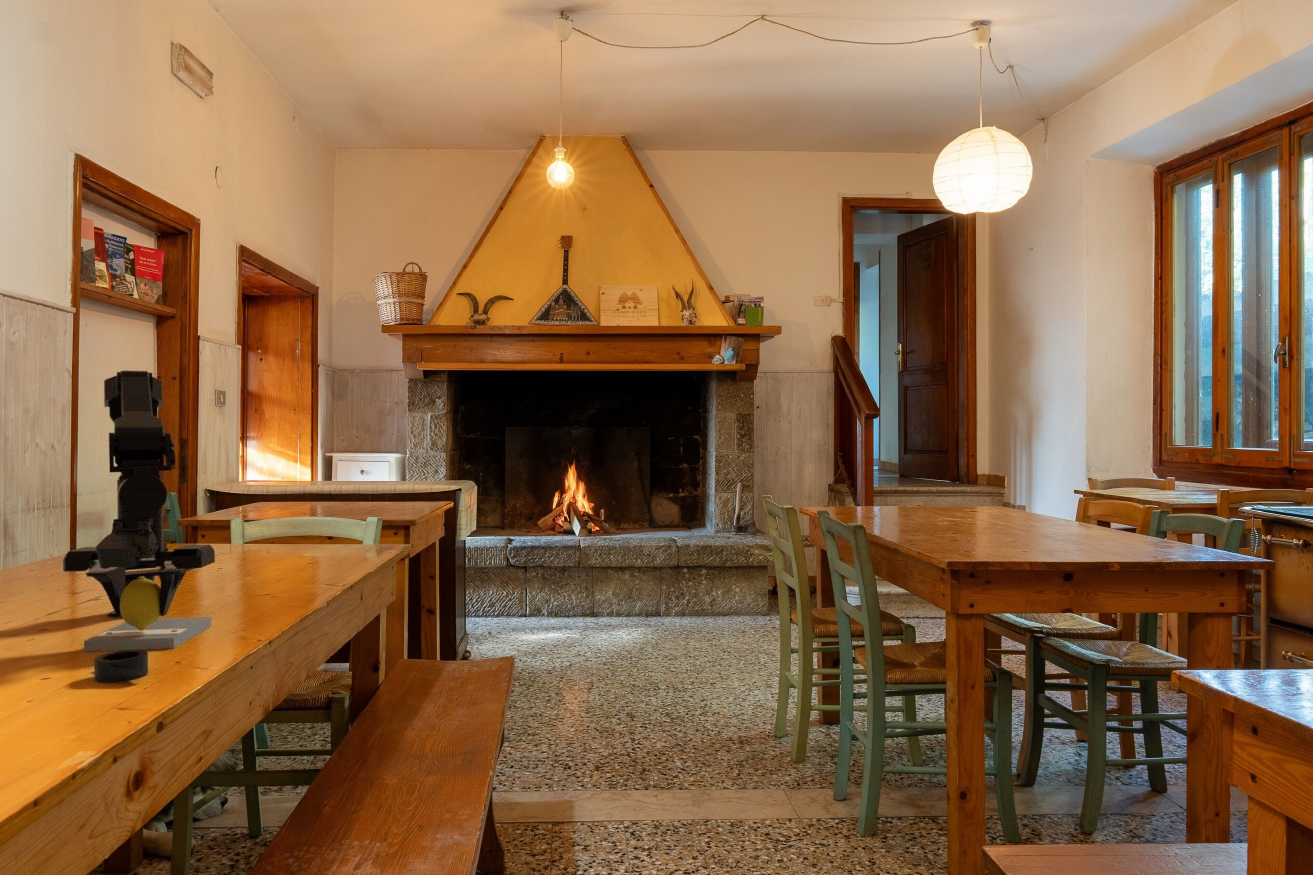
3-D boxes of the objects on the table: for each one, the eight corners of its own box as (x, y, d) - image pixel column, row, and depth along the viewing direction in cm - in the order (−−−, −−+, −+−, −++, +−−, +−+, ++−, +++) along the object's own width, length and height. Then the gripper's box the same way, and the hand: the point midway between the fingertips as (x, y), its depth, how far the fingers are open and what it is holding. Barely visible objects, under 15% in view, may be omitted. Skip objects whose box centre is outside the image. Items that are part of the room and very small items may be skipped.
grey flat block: (131, 628, 137) (130, 618, 137) (211, 626, 138) (211, 615, 138) (84, 651, 123) (83, 639, 123) (174, 648, 125) (173, 636, 125)
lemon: (149, 635, 125) (148, 579, 125) (111, 635, 125) (110, 579, 125) (171, 626, 131) (171, 573, 130) (135, 626, 131) (134, 573, 131)
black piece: (166, 665, 116) (166, 644, 116) (144, 687, 107) (143, 663, 107) (101, 670, 114) (100, 648, 114) (72, 692, 105) (71, 668, 105)
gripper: (39, 517, 118) (41, 631, 119) (185, 514, 121) (186, 626, 121) (83, 509, 129) (84, 613, 130) (215, 507, 132) (216, 609, 132)
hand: (141, 616), depth 128 cm, fingers open, 6 cm apart
